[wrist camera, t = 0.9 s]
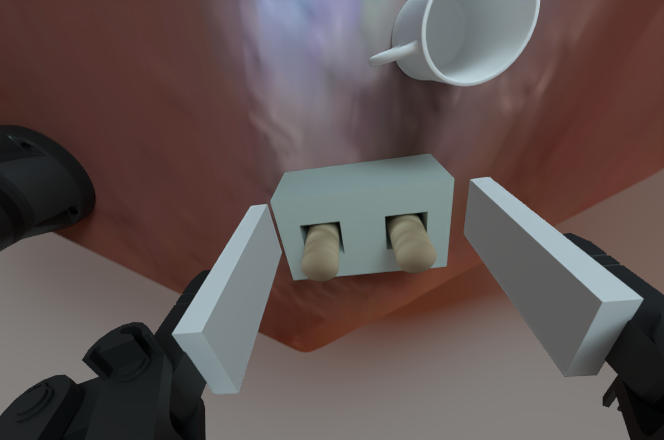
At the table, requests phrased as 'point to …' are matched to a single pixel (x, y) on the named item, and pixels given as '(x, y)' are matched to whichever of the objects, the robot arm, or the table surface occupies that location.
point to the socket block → (364, 209)
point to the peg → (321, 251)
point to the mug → (459, 38)
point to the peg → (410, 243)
